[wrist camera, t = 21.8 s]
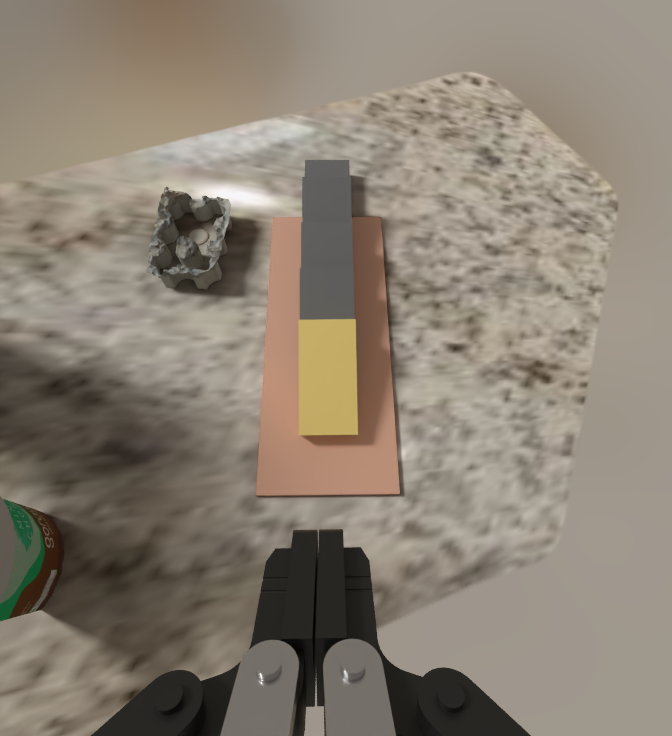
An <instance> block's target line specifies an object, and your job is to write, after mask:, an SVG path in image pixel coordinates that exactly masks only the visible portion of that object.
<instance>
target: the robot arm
mask: <svg viewBox="0 0 672 736" xmlns="http://www.w3.org/2000/svg"><path fill="white" fill-rule="evenodd" d="M316 676H317V706H324V729H325V736H531V735H529V734H528V733H527V732H526V731H525V730H524V729H523V728H522V727H521V726H520V725H519V724H517V722H515V721H514V720H513V719H512V718H511V717H510V716H509V715H508V714H507V713H506V712H505V711H504V710H503V709H501V708H500V707H499V706H498V705H497V704H496V703H495V702H494V701H493V700H492V699H490V697H489V696H487V695H486V694H485V693H484V692H483V691H482V690H481V689H480V688H479V687H478V686H477V685H476V684H474V683H473V682H472V681H471V680H470V679H469V678H468V677H467V676H465V675H464V674H462V673H461V672H459V671H456V670H454V669H450V668H436V669H433V670H431V671H429V672H428V673H426V674H425V675H424V677H421V676H418V675H415V674H412V673H409V672H406V671H403V670H401V669H399V668H397V667H396V666H394V665H393V664H391V663H390V662H389V661H388V660H387V659H386V657H385V656H384V655H383V653H382V651H381V650H380V647H379V644H378V640H377V630H376V621H375V611H374V602H373V592H372V583H371V574H370V564H369V560H368V558H367V556H366V555H365V553H364V552H363V550H362V549H361V547H353V548H344V546H343V529H330V530H319V551H318V531H317V530H294V531H293V538H292V546H291V548H281V549H275V550H274V551H273V553H272V554H271V556H270V557H269V559H268V560H267V561H266V565H265V571H264V576H263V582H262V587H261V593H260V599H259V604H258V610H257V615H256V621H255V626H254V632H253V637H252V642H251V646H250V648H249V650H248V651H247V653H246V654H245V655H244V657H243V659H242V660H241V662H240V663H239V664H238V665H236V666H235V667H234V668H232V669H231V670H229V671H227V672H225V673H223V674H220V675H217V676H215V677H212V678H209V679H206V680H203V681H200V680H199V678H198V677H197V676H196V675H195V674H193V673H191V672H189V671H185V670H176V671H171V672H168V673H165V674H163V675H161V676H160V677H158V678H156V679H155V680H154V681H153V682H151V683H150V684H149V685H148V686H147V687H146V688H145V689H143V690H142V691H141V692H140V693H139V694H138V695H137V696H135V697H134V698H133V699H132V700H131V701H130V702H129V703H128V704H126V705H125V706H124V707H123V708H122V709H121V710H120V711H118V712H117V713H116V714H115V715H114V716H113V717H112V718H111V719H109V720H108V721H107V722H106V723H105V724H104V725H103V726H101V727H100V728H99V729H98V730H97V731H96V732H95V733H94V734H92V735H91V736H304V731H305V715H306V707H311V706H312V707H314V706H315V682H316V679H315V678H316Z"/></svg>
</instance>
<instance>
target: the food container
mask: <svg viewBox="0 0 672 736" xmlns="http://www.w3.org/2000/svg"><path fill="white" fill-rule="evenodd" d="M63 557H64V548H63V542H62V536H61V533H60V531H59V530H58V528H57V526H56V524H55V523H54V522H53V521H52V520H51V519H50V517H48V516H47V515H45V514H44V513H42V512H40V511H37V510H34V509H32V508H29V507H26V506H23V505H20V504H17V503H14V502H11V501H8V500H5V499H2V498H1V497H0V621H3V620H6V619H10V618H13V617H17V616H21V615H24V614H28V613H31V612H35V611H38V610H41V609H42V608H43V606H44V605H45V603H46V602H47V601H48V599H49V598H50V596H51V595H52V593H53V591H54V588H55V586H56V584H57V582H58V579H59V577H60V575H61V570H62V564H63Z"/></svg>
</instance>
